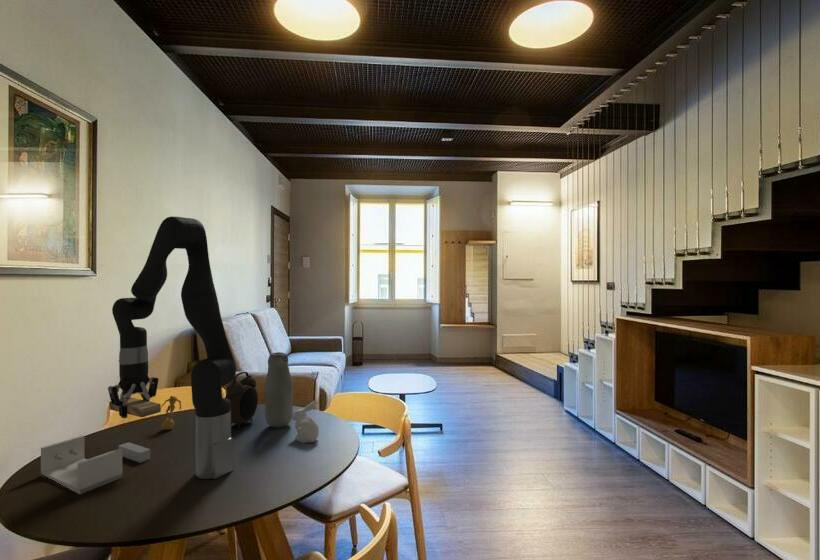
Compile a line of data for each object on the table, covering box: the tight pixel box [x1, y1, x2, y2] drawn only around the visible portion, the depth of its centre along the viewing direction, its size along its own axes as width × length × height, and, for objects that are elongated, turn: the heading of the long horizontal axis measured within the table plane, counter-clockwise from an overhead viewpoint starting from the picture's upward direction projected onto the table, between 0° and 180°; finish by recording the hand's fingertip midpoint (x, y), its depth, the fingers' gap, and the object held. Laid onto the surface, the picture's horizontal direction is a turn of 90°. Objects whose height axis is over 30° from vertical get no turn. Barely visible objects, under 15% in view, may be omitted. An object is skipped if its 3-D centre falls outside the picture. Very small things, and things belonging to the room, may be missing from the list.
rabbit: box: [291, 400, 320, 444], centre depth 140 cm, size 12×9×12 cm
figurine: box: [161, 395, 182, 431], centre depth 150 cm, size 8×6×12 cm
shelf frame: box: [40, 434, 123, 495], centre depth 113 cm, size 22×10×8 cm, turn 63°
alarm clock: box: [224, 371, 259, 430], centre depth 154 cm, size 15×7×20 cm, turn 168°
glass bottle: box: [263, 352, 294, 429], centre depth 152 cm, size 10×10×28 cm
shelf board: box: [108, 396, 162, 418], centre depth 126 cm, size 18×6×2 cm, turn 62°
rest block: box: [117, 442, 151, 464], centre depth 126 cm, size 12×3×3 cm, turn 63°
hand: (134, 414), depth 126 cm, fingers closed on shelf board, 5 cm apart
